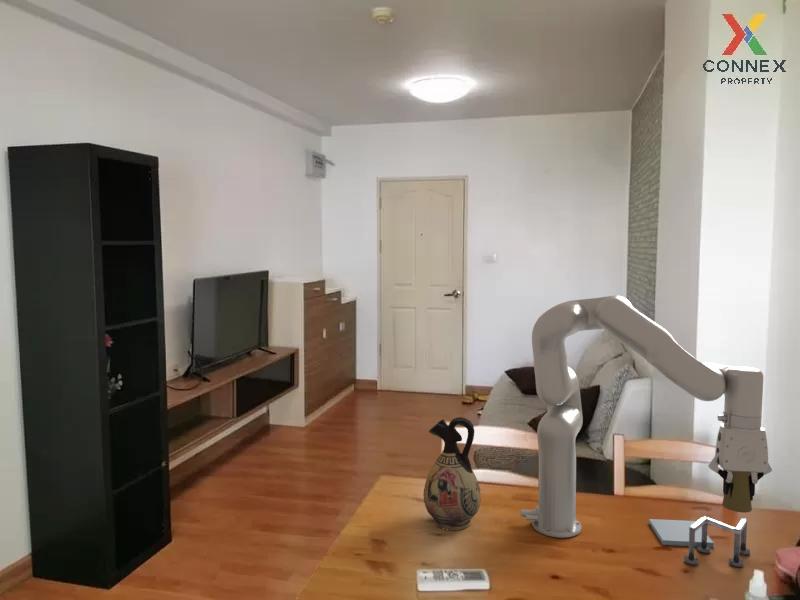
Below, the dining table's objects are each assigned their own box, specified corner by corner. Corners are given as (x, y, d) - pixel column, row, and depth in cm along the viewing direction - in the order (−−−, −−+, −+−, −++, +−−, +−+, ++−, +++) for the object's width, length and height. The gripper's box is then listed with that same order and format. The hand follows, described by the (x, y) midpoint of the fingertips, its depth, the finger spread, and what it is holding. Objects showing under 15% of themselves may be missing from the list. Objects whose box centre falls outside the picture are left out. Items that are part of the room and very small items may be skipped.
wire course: (686, 565, 141) (687, 529, 140) (674, 546, 149) (675, 512, 149) (764, 569, 138) (765, 532, 138) (746, 549, 147) (748, 515, 147)
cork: (756, 513, 137) (758, 466, 136) (727, 511, 138) (729, 464, 137) (746, 502, 143) (748, 457, 142) (718, 500, 144) (720, 455, 143)
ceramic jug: (415, 531, 159) (414, 420, 156) (434, 508, 173) (433, 405, 170) (478, 542, 152) (478, 426, 150) (492, 517, 166) (492, 411, 164)
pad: (662, 544, 150) (663, 540, 150) (649, 523, 162) (649, 519, 162) (713, 547, 149) (713, 542, 149) (695, 525, 161) (696, 521, 161)
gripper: (710, 424, 136) (707, 503, 137) (789, 426, 134) (784, 506, 135) (698, 415, 143) (695, 489, 145) (772, 417, 141) (768, 493, 143)
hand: (738, 497), depth 140 cm, fingers closed on cork, 3 cm apart
